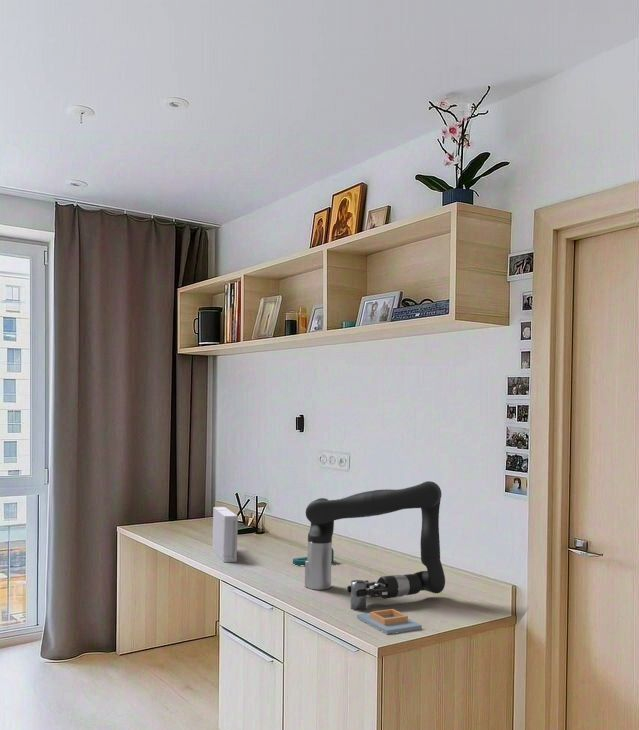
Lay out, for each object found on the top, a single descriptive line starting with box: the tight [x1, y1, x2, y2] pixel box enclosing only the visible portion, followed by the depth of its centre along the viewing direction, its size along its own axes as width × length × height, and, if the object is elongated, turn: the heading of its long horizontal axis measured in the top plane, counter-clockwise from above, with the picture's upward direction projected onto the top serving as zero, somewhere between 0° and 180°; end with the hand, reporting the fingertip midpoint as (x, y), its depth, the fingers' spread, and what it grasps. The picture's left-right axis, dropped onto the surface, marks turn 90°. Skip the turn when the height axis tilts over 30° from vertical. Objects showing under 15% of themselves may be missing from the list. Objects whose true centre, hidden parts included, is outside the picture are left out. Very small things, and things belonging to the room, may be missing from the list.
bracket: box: [292, 547, 335, 566], centre depth 319 cm, size 18×7×8 cm, turn 121°
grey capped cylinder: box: [350, 579, 367, 611], centre depth 251 cm, size 5×5×9 cm
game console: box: [211, 506, 239, 563], centre depth 330 cm, size 6×27×20 cm, turn 19°
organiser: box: [356, 608, 423, 635], centre depth 235 cm, size 18×13×3 cm
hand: (352, 591), depth 250 cm, fingers closed on grey capped cylinder, 5 cm apart
